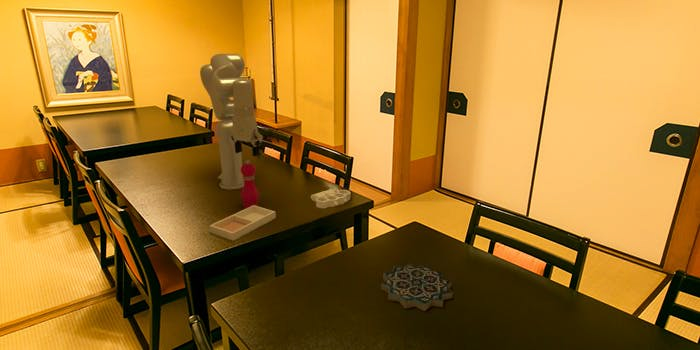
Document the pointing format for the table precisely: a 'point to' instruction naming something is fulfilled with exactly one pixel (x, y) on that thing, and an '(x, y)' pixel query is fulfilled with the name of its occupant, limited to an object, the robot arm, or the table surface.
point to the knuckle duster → (331, 198)
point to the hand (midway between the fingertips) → (247, 154)
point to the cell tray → (242, 222)
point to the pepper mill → (249, 185)
